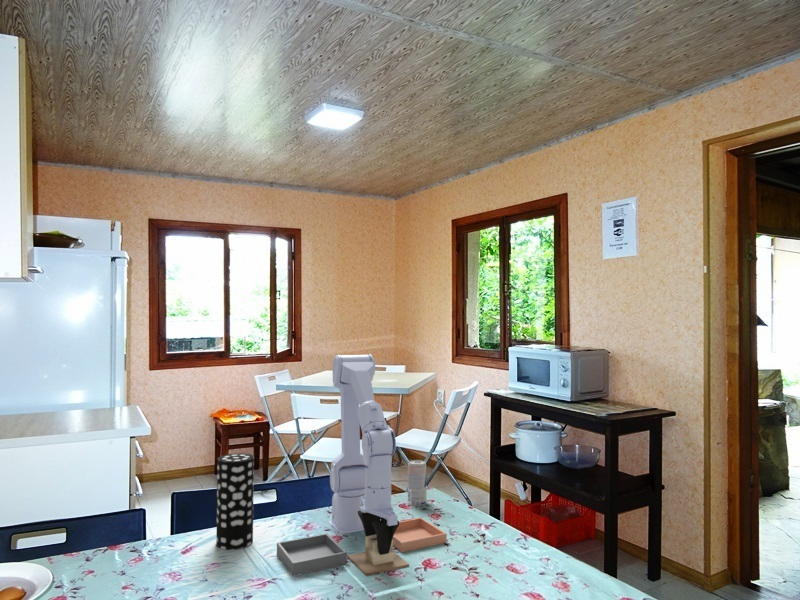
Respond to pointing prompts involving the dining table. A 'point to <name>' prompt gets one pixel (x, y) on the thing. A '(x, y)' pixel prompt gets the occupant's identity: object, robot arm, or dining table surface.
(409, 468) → the energy drink
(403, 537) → the terracotta tray
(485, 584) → the dining table surface
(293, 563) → the charcoal tray
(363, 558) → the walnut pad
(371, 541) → the letter cube
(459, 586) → the dining table surface
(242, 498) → the spotted tube
